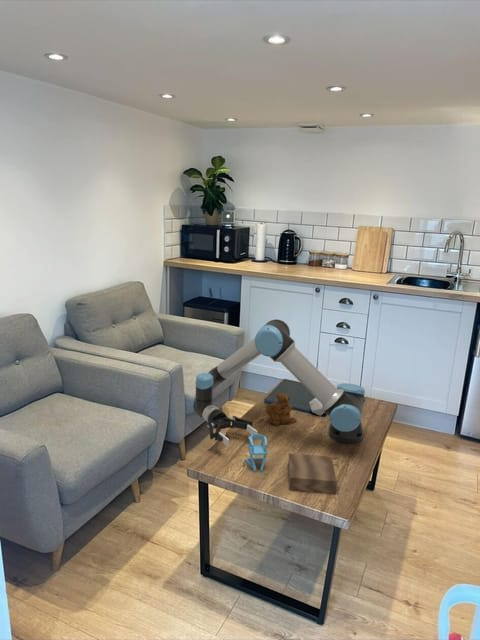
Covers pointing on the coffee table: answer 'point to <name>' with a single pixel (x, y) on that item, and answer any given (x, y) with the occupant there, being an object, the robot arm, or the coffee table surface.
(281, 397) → the stuffed squirrel
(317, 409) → the die
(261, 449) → the chair
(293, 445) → the coffee table surface
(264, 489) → the coffee table surface
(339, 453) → the coffee table surface
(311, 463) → the wooden square box
